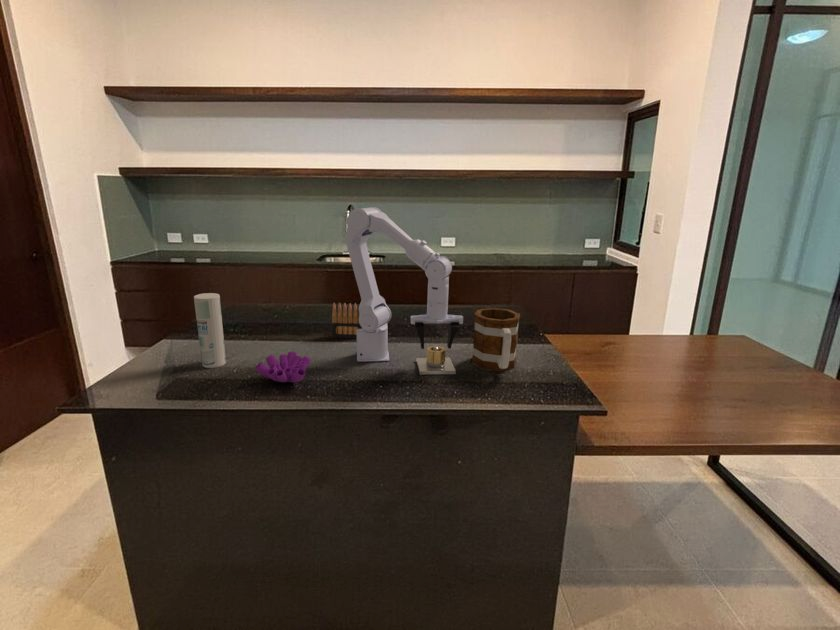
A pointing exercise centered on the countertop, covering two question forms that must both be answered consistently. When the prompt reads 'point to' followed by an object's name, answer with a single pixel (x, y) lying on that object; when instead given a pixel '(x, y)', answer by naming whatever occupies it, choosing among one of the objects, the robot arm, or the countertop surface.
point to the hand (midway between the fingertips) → (435, 347)
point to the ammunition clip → (345, 322)
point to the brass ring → (436, 355)
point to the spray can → (210, 329)
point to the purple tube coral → (284, 367)
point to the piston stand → (435, 366)
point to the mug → (495, 339)
